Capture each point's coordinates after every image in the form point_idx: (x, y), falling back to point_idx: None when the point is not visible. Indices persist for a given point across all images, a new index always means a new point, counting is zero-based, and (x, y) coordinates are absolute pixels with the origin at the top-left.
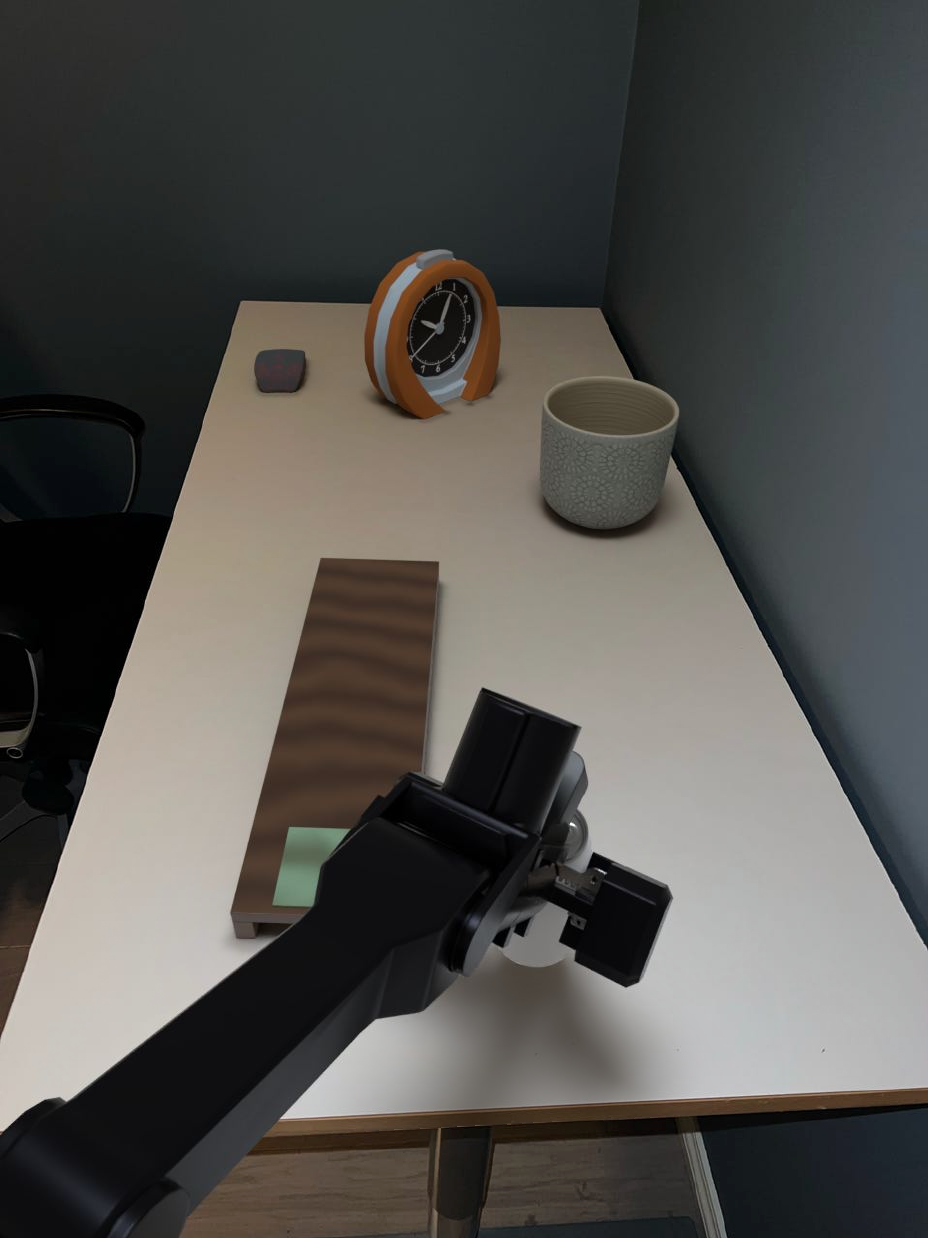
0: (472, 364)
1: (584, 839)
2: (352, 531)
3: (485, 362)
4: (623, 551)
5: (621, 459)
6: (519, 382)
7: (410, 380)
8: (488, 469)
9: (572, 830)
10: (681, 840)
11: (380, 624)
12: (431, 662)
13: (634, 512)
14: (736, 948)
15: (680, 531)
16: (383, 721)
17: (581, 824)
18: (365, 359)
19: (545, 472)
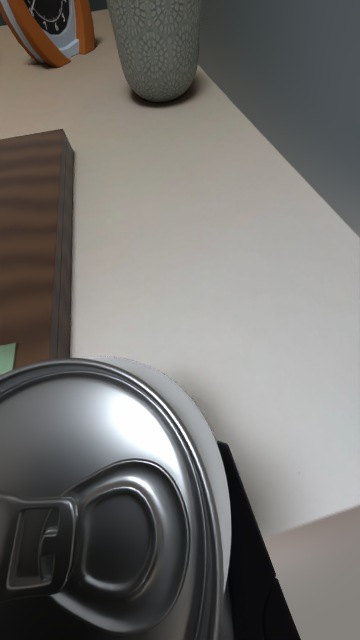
0: (77, 23)
1: (206, 545)
2: (19, 132)
3: (83, 18)
4: (181, 111)
5: (166, 2)
6: (110, 41)
7: (35, 28)
8: (97, 84)
9: (149, 510)
10: (257, 285)
11: (22, 176)
12: (64, 196)
13: (183, 75)
14: (319, 363)
15: (212, 94)
16: (23, 245)
17: (182, 451)
18: (3, 17)
19: (121, 52)
